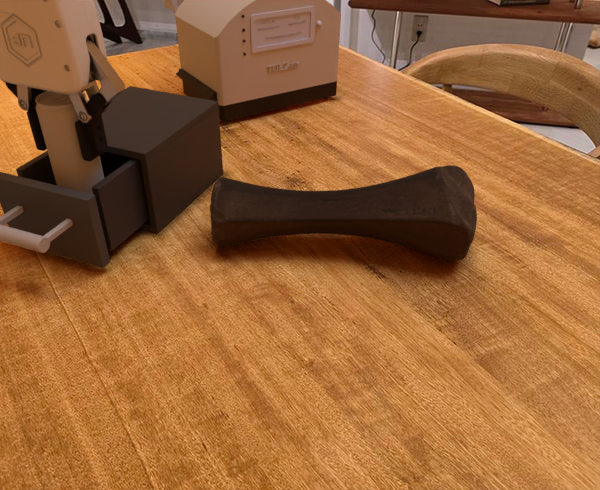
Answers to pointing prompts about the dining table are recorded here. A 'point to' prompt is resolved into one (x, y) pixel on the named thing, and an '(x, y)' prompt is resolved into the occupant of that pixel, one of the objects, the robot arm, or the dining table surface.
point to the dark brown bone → (355, 212)
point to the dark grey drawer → (73, 209)
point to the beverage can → (66, 143)
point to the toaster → (257, 52)
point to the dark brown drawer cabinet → (166, 146)
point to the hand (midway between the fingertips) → (72, 148)
